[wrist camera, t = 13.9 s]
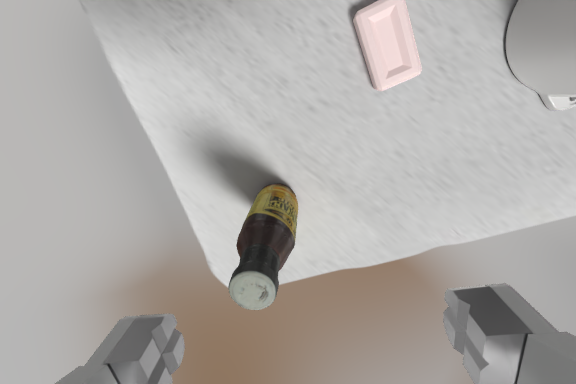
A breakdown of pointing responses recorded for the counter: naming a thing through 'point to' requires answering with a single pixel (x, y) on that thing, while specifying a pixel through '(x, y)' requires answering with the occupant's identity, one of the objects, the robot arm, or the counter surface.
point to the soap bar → (387, 43)
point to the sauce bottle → (264, 247)
